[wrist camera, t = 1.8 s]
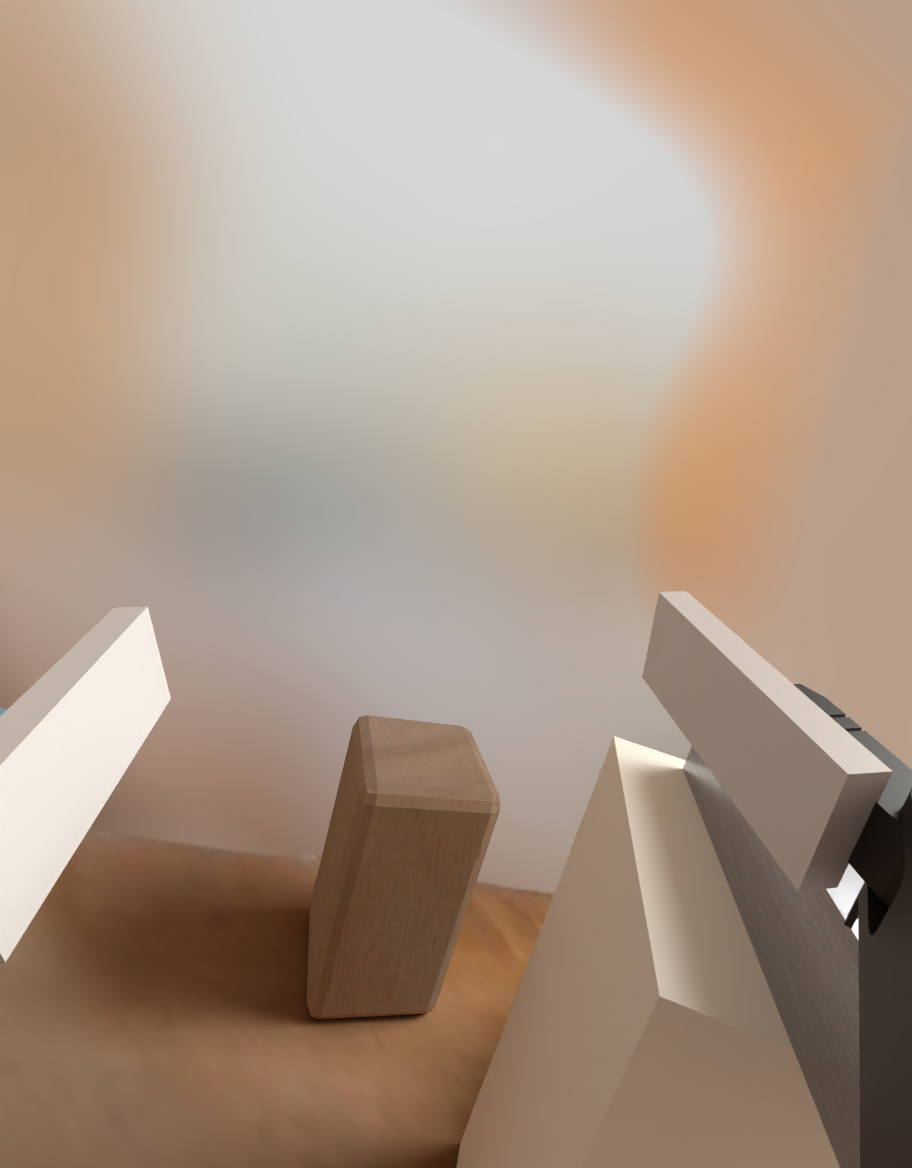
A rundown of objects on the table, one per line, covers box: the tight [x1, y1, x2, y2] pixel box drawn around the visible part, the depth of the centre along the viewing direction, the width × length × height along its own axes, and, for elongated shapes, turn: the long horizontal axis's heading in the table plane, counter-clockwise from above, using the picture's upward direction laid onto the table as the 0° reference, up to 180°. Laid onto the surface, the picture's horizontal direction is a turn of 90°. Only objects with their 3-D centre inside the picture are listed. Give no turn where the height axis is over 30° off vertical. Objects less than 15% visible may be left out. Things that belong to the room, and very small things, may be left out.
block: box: [306, 716, 500, 1019], centre depth 42 cm, size 10×10×20 cm
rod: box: [683, 746, 865, 1168], centre depth 14 cm, size 4×22×4 cm, turn 170°
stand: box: [456, 736, 840, 1168], centre depth 23 cm, size 10×14×30 cm
